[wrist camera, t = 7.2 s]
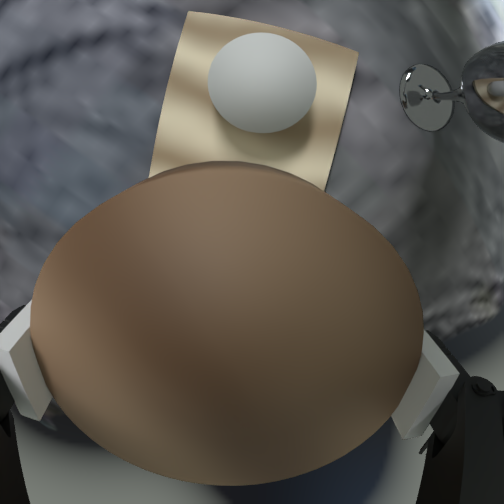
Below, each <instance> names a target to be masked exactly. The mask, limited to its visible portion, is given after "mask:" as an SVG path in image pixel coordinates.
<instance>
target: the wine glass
mask: <svg viewBox="0 0 504 504" xmlns="http://www.w3.org/2000/svg"><path fill="white" fill-rule="evenodd" d="M399 93H400V100H401V104H402V107H403V109H404V111H405V113H406V115H407V116H408V117H409V119H410V120H411V121H412V122H413V123H414V124H415V125H416V126H418V127H419V128H421V129H424V130H427V131H437V130H440V129H442V128H444V127H445V126H446V125H447V124H448V123H449V122H450V120H451V118H452V116H453V113H454V106H455V101H457V102H461V103H463V104H464V106H465V108H466V110H467V112H468V114H469V115H470V117H471V119H472V120H473V121H474V123H475V124H476V125H477V126H478V127H479V128H480V129H481V130H482V131H483V132H485V133H486V134H487V135H489V136H491V137H492V138H494V139H496V140H498V141H500V142H502V143H504V41H502V42H498V43H495V44H492V45H490V46H488V47H485V48H484V49H482V50H480V51H479V52H477V53H476V54H474V55H473V56H472V57H471V58H470V59H469V60H468V61H467V63H466V64H465V66H464V69H463V72H462V75H461V86H460V87H459V88H458V89H455V90H452V88H451V86H450V84H449V82H448V80H447V79H446V77H445V76H444V75H443V74H442V73H441V72H440V71H439V70H437V69H436V68H434V67H432V66H430V65H426V64H417V65H414V66H412V67H410V68H409V69H407V70H406V71H405V73H404V74H403V76H402V79H401V82H400V89H399Z"/></svg>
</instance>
